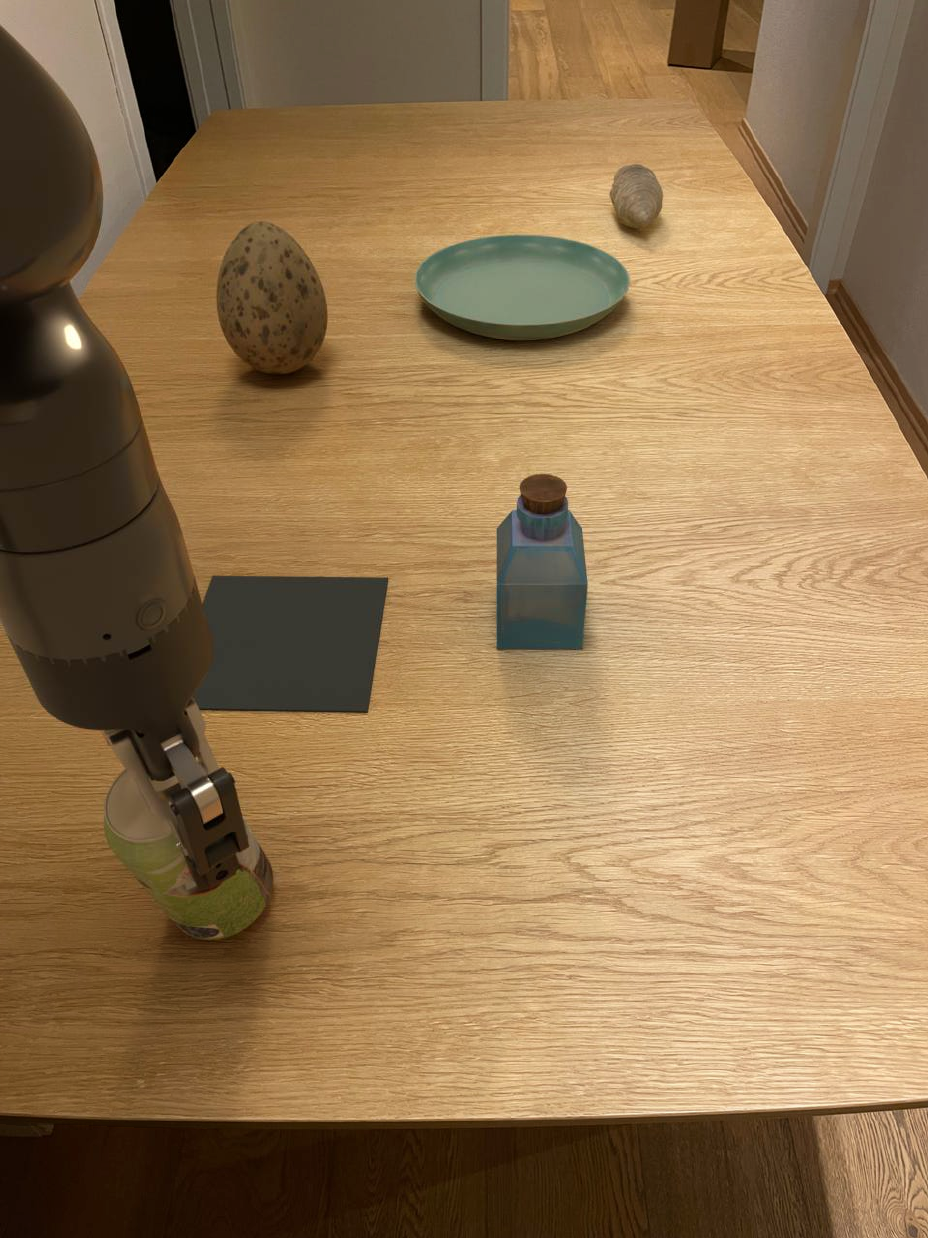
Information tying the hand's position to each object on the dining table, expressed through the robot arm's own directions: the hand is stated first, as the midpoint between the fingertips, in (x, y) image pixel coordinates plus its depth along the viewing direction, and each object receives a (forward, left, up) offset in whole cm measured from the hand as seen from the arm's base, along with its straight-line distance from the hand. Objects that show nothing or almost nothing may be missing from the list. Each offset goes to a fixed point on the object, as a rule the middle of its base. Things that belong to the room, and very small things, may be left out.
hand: (188, 832), depth 50 cm
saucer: (+63, +49, -8) cm, 80 cm away
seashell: (+90, +58, -8) cm, 107 cm away
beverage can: (0, 0, -8) cm, 8 cm away
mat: (+14, +17, -8) cm, 23 cm away
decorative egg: (+34, +53, -8) cm, 64 cm away
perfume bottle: (+30, +7, -8) cm, 32 cm away
